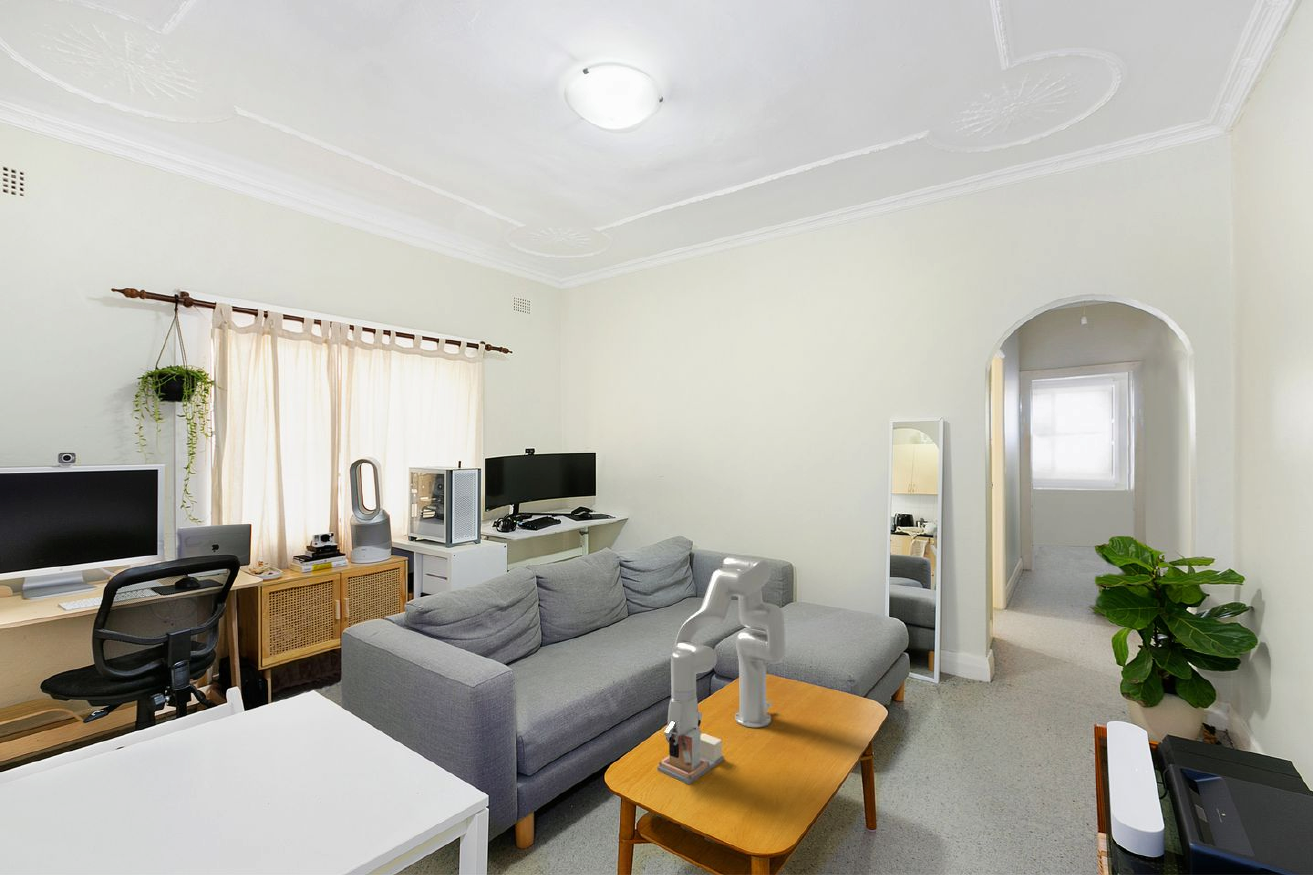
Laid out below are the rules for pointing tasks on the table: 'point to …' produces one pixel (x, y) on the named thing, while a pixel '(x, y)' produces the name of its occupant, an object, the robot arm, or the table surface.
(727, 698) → the table surface
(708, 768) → the assembly board
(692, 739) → the small box
